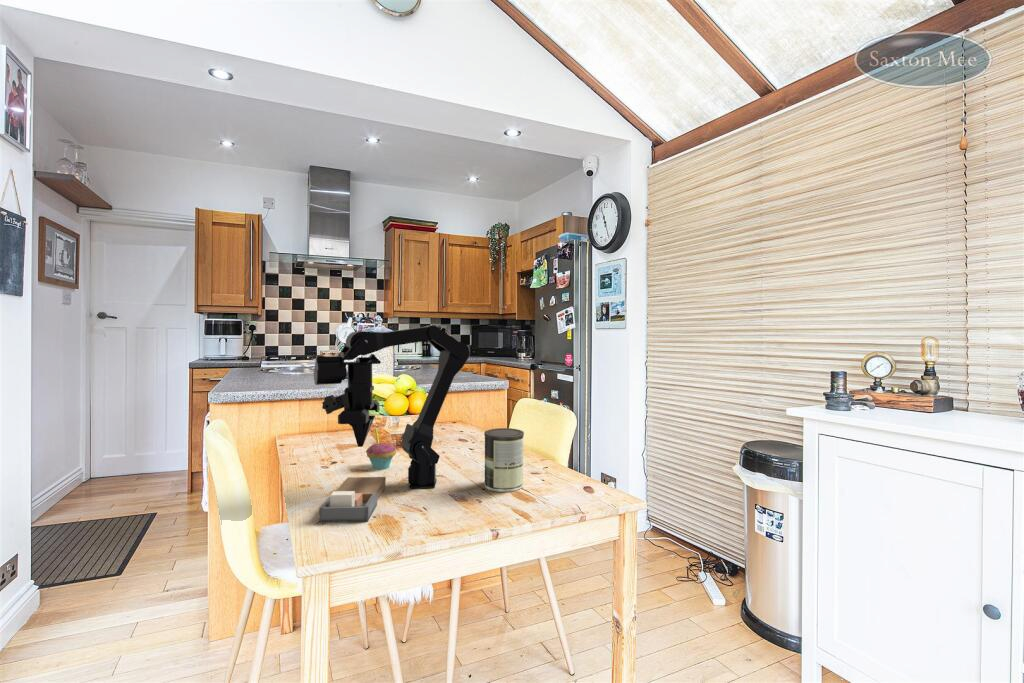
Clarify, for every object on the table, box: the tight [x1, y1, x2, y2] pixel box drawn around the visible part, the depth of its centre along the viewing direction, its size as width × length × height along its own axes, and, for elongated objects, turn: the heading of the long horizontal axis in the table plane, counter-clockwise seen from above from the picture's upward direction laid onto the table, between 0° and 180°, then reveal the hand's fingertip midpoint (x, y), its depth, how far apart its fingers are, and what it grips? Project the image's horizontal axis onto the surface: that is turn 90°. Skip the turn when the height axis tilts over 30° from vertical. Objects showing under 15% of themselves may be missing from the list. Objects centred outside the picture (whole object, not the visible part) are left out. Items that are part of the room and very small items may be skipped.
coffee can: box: [483, 427, 525, 493], centre depth 126 cm, size 10×10×14 cm
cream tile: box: [329, 490, 355, 507], centre depth 105 cm, size 4×4×2 cm
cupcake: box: [365, 425, 397, 470], centre depth 142 cm, size 9×8×12 cm
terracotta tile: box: [355, 493, 362, 506], centre depth 108 cm, size 4×4×2 cm
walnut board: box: [336, 476, 387, 503], centre depth 118 cm, size 10×13×2 cm
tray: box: [318, 492, 378, 524], centre depth 106 cm, size 10×10×3 cm
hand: (360, 446), depth 118 cm, fingers closed
